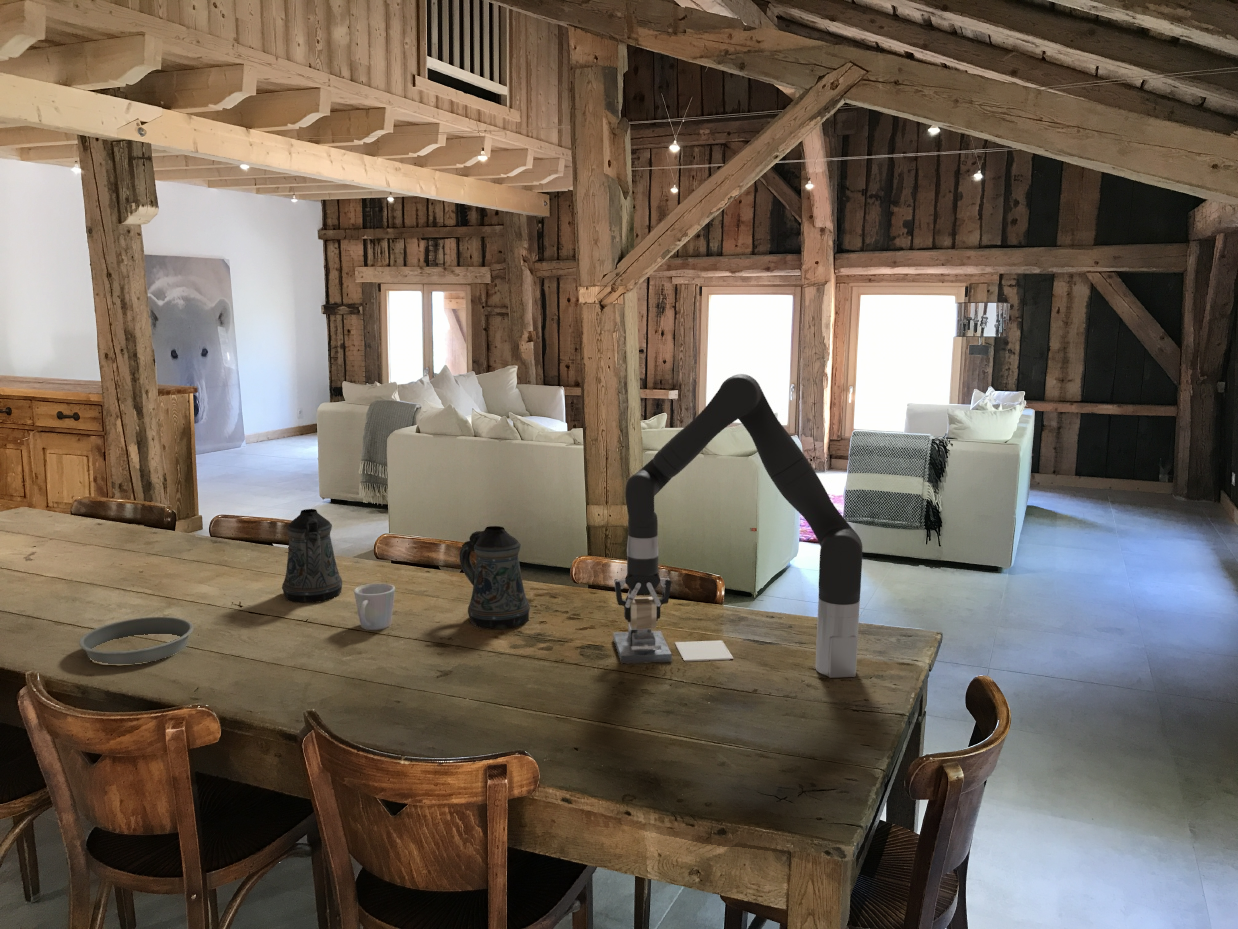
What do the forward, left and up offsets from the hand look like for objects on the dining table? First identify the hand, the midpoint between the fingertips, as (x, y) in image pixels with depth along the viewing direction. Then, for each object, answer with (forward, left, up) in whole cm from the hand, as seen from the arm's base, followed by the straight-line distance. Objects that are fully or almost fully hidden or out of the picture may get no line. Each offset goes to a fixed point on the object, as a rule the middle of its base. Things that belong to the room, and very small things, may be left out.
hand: (642, 620), depth 228 cm
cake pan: (+13, +121, -8) cm, 122 cm away
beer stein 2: (+27, +36, -8) cm, 46 cm away
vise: (0, 0, -8) cm, 8 cm away
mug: (+23, +67, -8) cm, 71 cm away
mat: (-2, -15, -8) cm, 17 cm away
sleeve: (0, 0, -1) cm, 1 cm away
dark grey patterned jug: (+53, +87, -8) cm, 102 cm away
